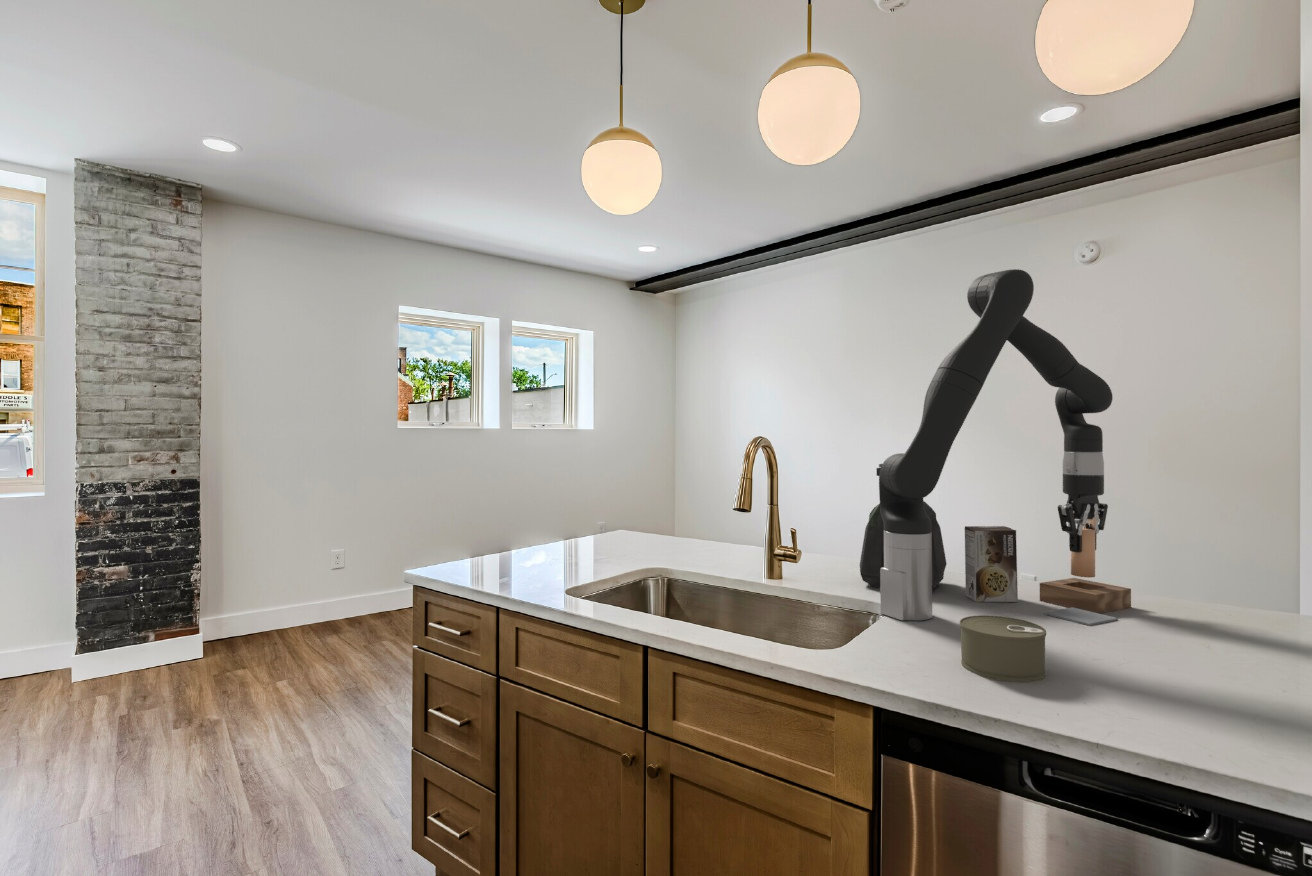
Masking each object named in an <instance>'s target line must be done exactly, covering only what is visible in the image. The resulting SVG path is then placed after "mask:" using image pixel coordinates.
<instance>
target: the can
mask: <svg viewBox="0 0 1312 876" xmlns="http://www.w3.org/2000/svg"><path fill="white" fill-rule="evenodd" d="M959 626H960V645H961V650H960V651H961V661H960V662H961V666H962V667H963V668H964V669H965V670H967V671H969V672H970V673H973V674H975V675H978V676H979V677H983V678H986V679H990V680H996V681H1000V682H1001V681H1002V682H1009V683H1033V682H1038V681H1041V680H1043V679H1045V677H1046V671H1045V669H1046V667H1045V666H1046V636H1047V630H1046V628H1044V627H1043V626H1041V625H1039V624H1037V623H1034V622H1031V621H1028V620H1024V619H1020V618H1014V617H1008V616H1002V615H1001V616H999V615H987V614H986V615H981V614H980V615H969V616H966V617H963V618H961V619H960V620H959Z"/></svg>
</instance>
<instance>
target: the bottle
mask: <svg viewBox="0 0 1312 876" xmlns="http://www.w3.org/2000/svg"><path fill="white" fill-rule="evenodd" d="M882 464H883V463H879V464H878V467H876V476H878V477H879V474H880V469H881V466H882ZM923 502H924V508H925V511H926V513H927V515H928V516H929V517H930V519H931V522H932V590H934V589H935V588H936V587H937V586H938V585H939V584H940V583H941V582H942V581H943V579H944V577H945V576H944V575H945V570H946V568H947V565H948V564H947V559H946V552H945V547H944V543H943V542H944V541H943V536H942V531H941V526H940V524H939V522H938V520H937V513H936V512H935V510H934V509H933V508H932V507H931V506H930V505H929V504H928V503H927V502H926V501H924V500H923ZM859 561H860V562H859V573H860V577H861V578H862V581H863V582H865V583H867V584H868V585H869V586H870V587H873V588H874V587H875V588H880V569H881V568H882V567H884V523H883V519H882V517H881V512H880V503H879V504H877V505H876V506H874V507H873V508H872V510H871V511H870V512H869V515H868V522H867V524H866V526H865V529H864V537H863V541H862V548H861V554H860V560H859Z"/></svg>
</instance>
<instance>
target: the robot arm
mask: <svg viewBox="0 0 1312 876" xmlns="http://www.w3.org/2000/svg"><path fill="white" fill-rule="evenodd" d="M1034 288H1035V287H1034V282H1033V278H1032V276H1031V275H1030V274H1029V273H1028V272H1027V271H1025V270H1023V269H1006V270H1001V271H996V272H991V273H987V274H983V275H981V276H978V277H977V278H975V279H974V280H973V281H972V282H971V283H970V285H969V287H968V290H967V296H966V297H967V303H968V305H969V308H970V309H971V311H973V313H974V314H975V315H976V316H977V317H979V318H980V319H979V320H978V322H977V324H976V325H975V326H974V328H973V329H972V330H971V331H970V333H969V334H968V335H966V336H965V338H963V339H962V340H961V341H960V342H959V343H958V344H957V345H956V346H955V347H954V348H953V349H952V350H951V351H950V352H949V353H947V355H946V356H945V357H944V359H943V360H942V361H941V363H940V364H939V366H937V367H938V368H937V369H936V372H935V373H934V374H933V375H934V376H933V377H932V379H931V381H930V383H929V384H928V387H927V390H926V392H925V393H926V394H925V396H924V402H923V411H922V417H921V422H920V425H919V428H918V430H917V432H916V434H915V436H914V438H913V439H912V442H911V443H910V445H909V446H908V448H907V449H906V451H905V452H904V453H894V454H892V455H890V456H888V457H886V459H885V460H884V461H883V463H881V464H882V466H881V467H880V468H881V469H880V474H879V476H878V490H879V491H878V492H879V493H878V494H879V495H878V497H879V504H880V512H881V517H882V519H883V523H884V567H882V568H881V569H880V587H879V588H880V589H879V590H880V593H879V594H880V614H882V615H886V616H888V617H890V618H894V619H895V620H896V619H897V620H900V621H926V620H930V619H932V618H933V589H932V522H931V519H930V517H929V516H928V515H927V513H926V511H925V508H924V502H925V501H924V498H926V497H928V495H930V494H931V493H932V492H933V491H934V490H935V488H936V486H937V484H938V482H939V480H940V478H941V475H942V472H943V470H944V466H945V464H946V461H947V458H948V456H949V453H950V451H951V449H952V446H953V444H954V441H955V440H956V438H957V436H958V434H959V432H960V430H961V429H962V427H963V425H964V422H965V421H966V419H967V417H968V415H969V413H970V411H971V409H972V408H973V406H974V404H975V402H976V400H977V399H978V396H979V394H980V393H981V390H982V388H983V386H984V384H985V383H986V380H987V378H988V376H989V373H990V372H991V370H992V368H993V366H994V365H995V363H996V360H997V359H998V357H999V355H1000V354H1001V351H1002V349H1003V348H1004V345H1005V344H1006V343H1007V341H1008V343H1010V344H1011V345H1012V346H1013V347H1014V348H1015V349H1016V350H1017V351H1018V352H1019V353H1021V354H1022V355H1023V356H1024V358H1025V359H1026V360H1027V361H1028V363H1030V364H1031V366H1032V367H1033V369H1035V370H1036V371H1037V372H1038V374H1039V375H1040V376H1041V378H1042V379H1044V381H1045V382H1046V383H1047V384H1048V385H1050V386H1051V387H1054V388H1058V389H1057V390H1056V393H1055V397H1054V405H1055V409H1056V411H1057V415H1058V418H1059V421H1060V426H1061V428H1062V431H1063V459H1062V493H1063V494H1065V495H1067V501H1066V504H1059V505H1057V512H1058V517H1059V521H1060V527H1061V531H1062V532H1066V533H1067V534H1068V536H1069V540H1068V542H1069V544H1068V545H1069V551H1070V552H1071V551H1072V552H1082V535H1081V534H1082V529H1083V528H1086V529H1093V530H1095V551H1097V535H1098V534H1099V532H1100V531H1104V530H1105V525H1106V518H1107V514H1108V508H1109V505H1108V503H1101V502H1100V501H1099V496H1103V495H1104V494H1105V461H1104V456H1103V451H1104V450H1103V448H1104V447H1103V443H1104V441H1103V430H1102V428H1101V427H1100V426H1099V425H1096V424H1092V423H1088V422H1086V418H1085V417H1084V415H1085V414H1099V413H1102V412H1105V411H1107V410H1108V409H1109V408H1110V407H1111V405H1112V402H1113V392H1112V390H1111V387H1110V385H1108V383H1107V382H1106V380H1104V379H1103V378H1102V377H1101V376H1100V375H1098V374H1096V373H1095V372H1093V371H1092V370H1090V369H1089V368H1088V367H1086V366H1084V365H1083V364H1081V363H1080V362H1079V361H1078V360H1077V359H1076V358H1075V356H1074V355H1073V354H1072V353H1071V351H1070V350H1069V349H1068V347H1066V345H1065V344H1064V343H1063V342H1062V341H1061V340H1059V338H1057V337H1056V336H1054V335H1052V334H1051V333H1049V332H1048V331H1046V330H1045V329H1043V328H1041V327H1039V326H1038V325H1036V324H1035V323H1033V322H1032V321H1030V320H1029V319H1028V318H1027V317H1025V316H1024V315H1025V313H1026V311H1027V310H1028V308H1029V306H1030V304H1031V302H1032V299H1033V296H1034ZM923 501H924V502H923ZM1067 523H1068V524H1067ZM1076 528H1077V529H1076Z"/></svg>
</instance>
